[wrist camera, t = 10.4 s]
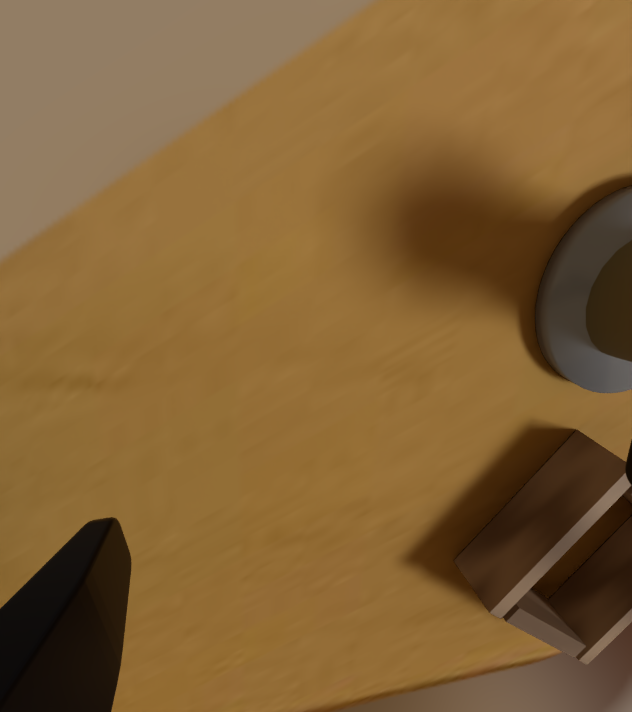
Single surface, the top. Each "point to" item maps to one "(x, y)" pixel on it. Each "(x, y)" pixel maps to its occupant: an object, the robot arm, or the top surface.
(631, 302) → the cork
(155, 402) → the top surface
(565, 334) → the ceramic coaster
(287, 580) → the top surface
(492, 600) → the frame
